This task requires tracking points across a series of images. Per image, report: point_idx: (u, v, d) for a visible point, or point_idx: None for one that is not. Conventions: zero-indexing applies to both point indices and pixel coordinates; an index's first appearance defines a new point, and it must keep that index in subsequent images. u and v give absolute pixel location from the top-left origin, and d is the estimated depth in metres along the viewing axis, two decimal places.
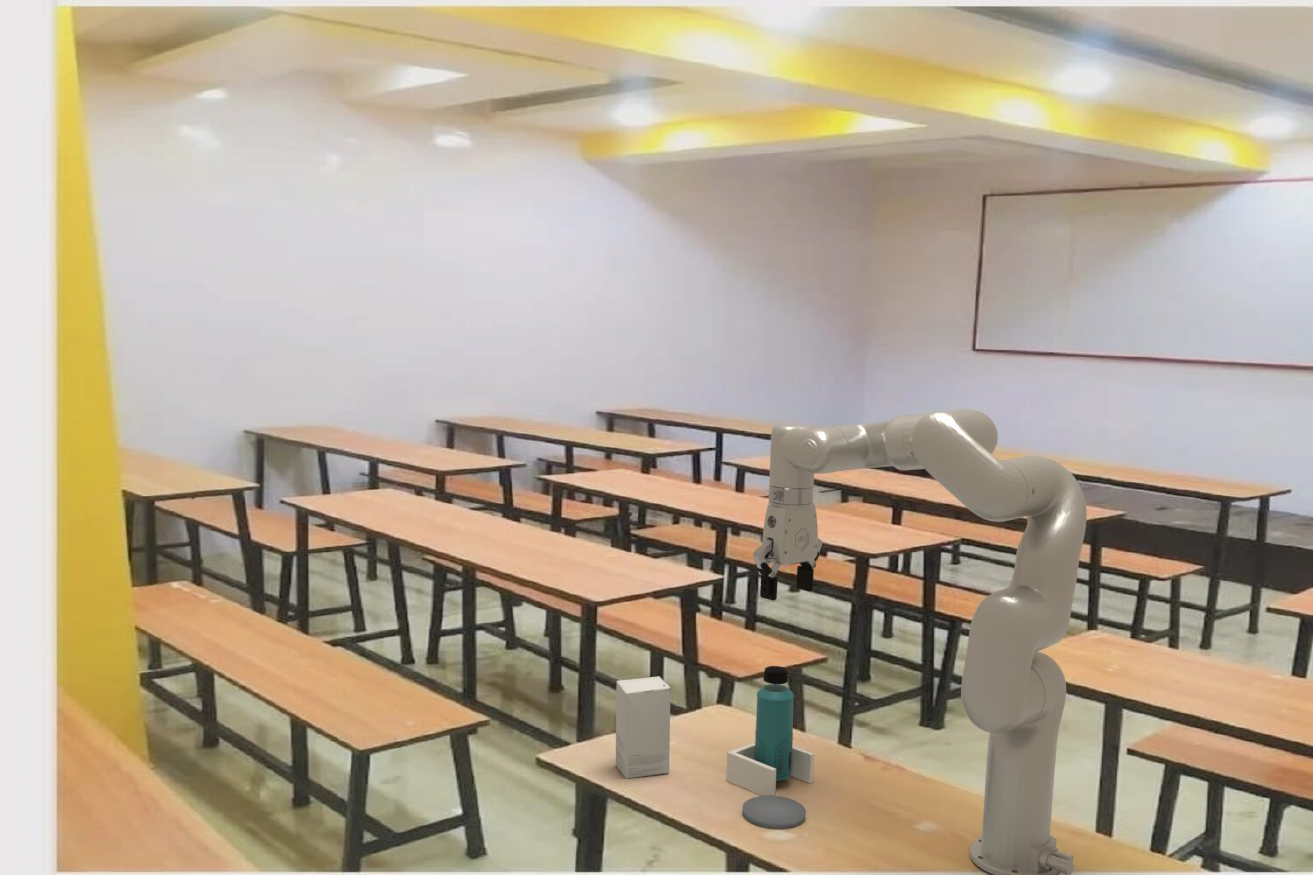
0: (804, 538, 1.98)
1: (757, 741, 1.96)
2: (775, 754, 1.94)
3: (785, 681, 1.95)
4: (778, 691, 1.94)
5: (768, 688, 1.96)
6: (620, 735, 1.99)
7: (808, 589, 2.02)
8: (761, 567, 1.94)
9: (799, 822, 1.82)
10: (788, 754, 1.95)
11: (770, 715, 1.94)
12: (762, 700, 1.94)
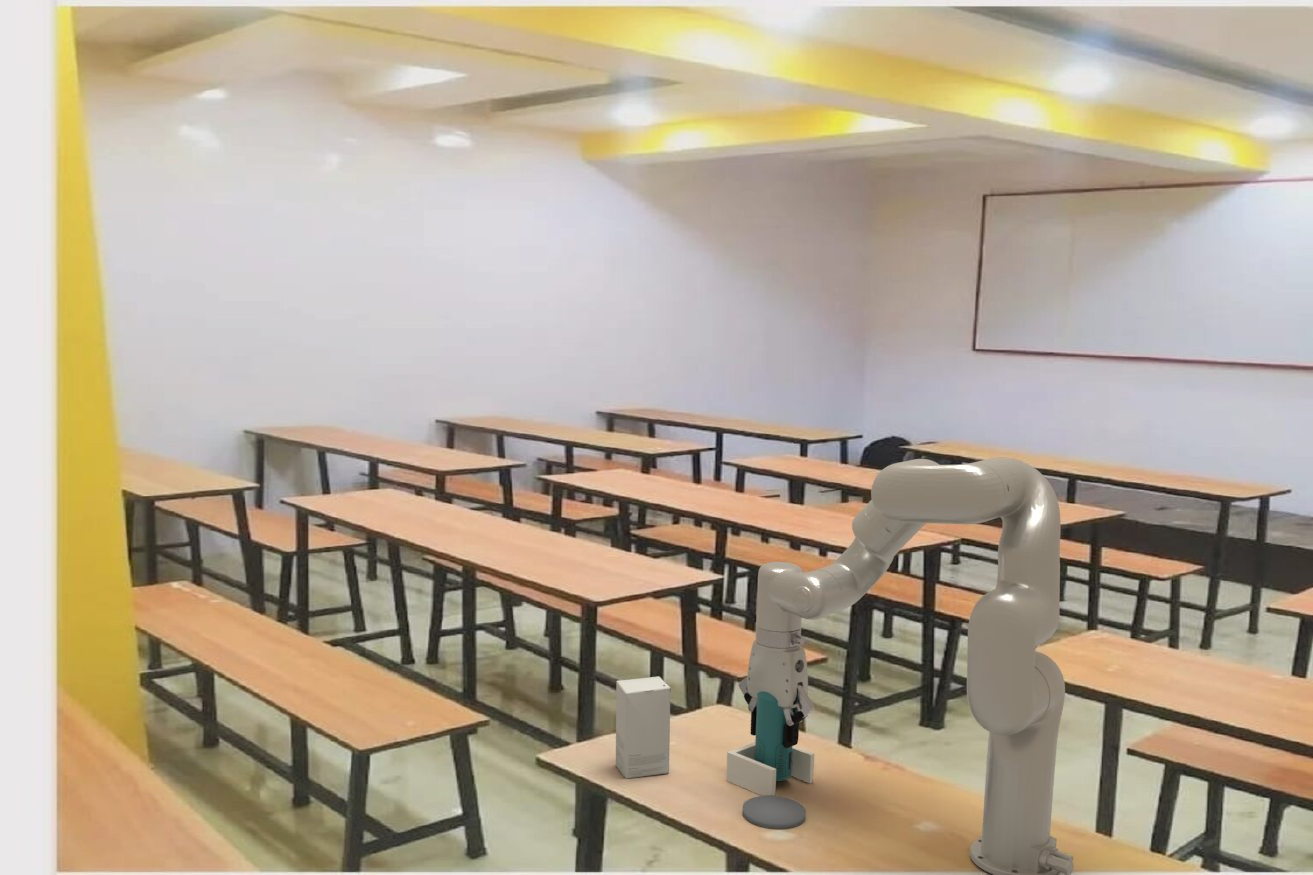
0: None
1: (757, 741, 1.96)
2: (775, 754, 1.94)
3: None
4: None
5: None
6: (620, 735, 1.99)
7: None
8: (806, 715, 1.92)
9: (799, 822, 1.82)
10: (788, 754, 1.95)
11: (770, 715, 1.94)
12: (762, 700, 1.94)
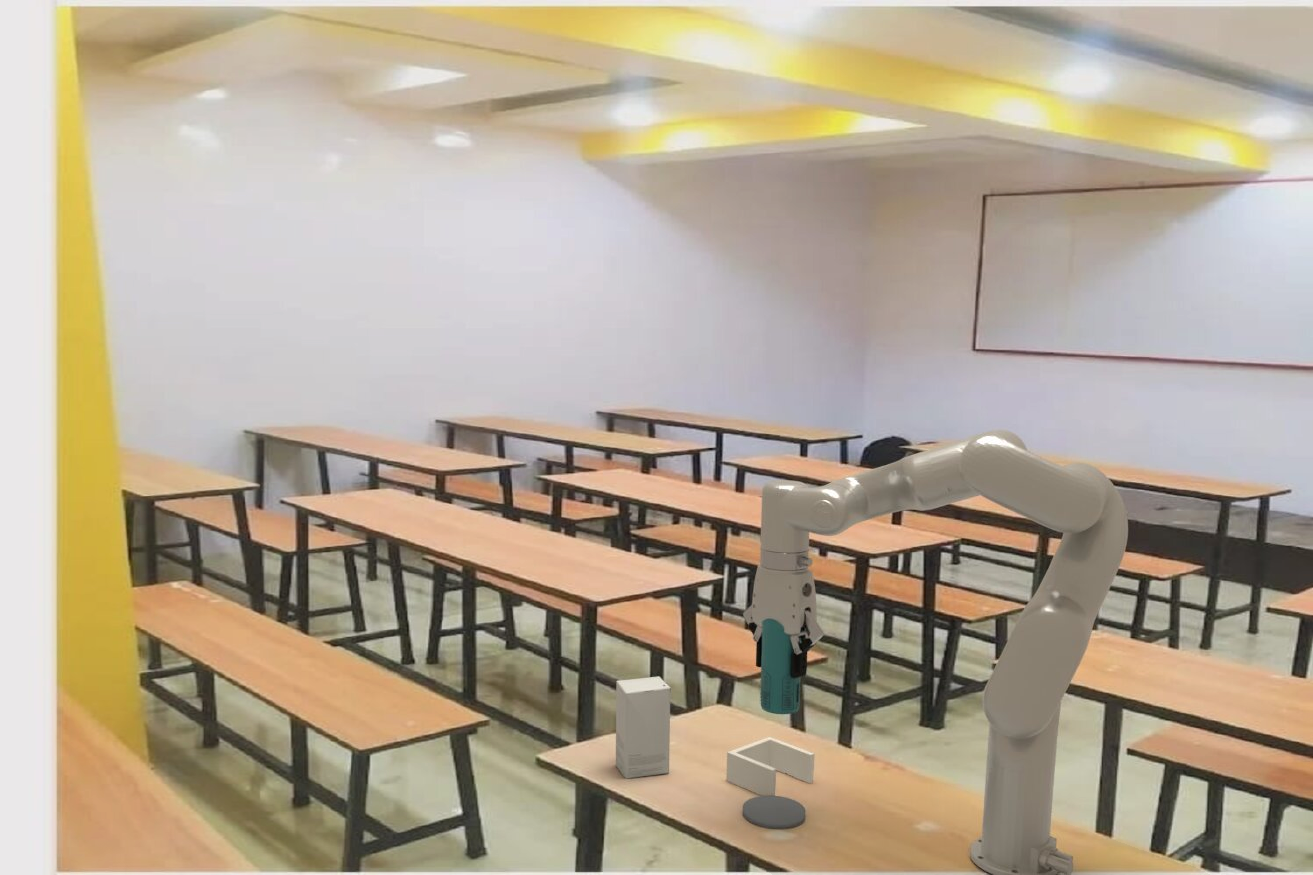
0: None
1: (763, 672, 1.83)
2: (782, 685, 1.82)
3: None
4: None
5: None
6: (620, 735, 1.99)
7: None
8: (815, 642, 1.79)
9: (799, 822, 1.82)
10: (796, 686, 1.82)
11: (776, 643, 1.81)
12: (768, 628, 1.82)
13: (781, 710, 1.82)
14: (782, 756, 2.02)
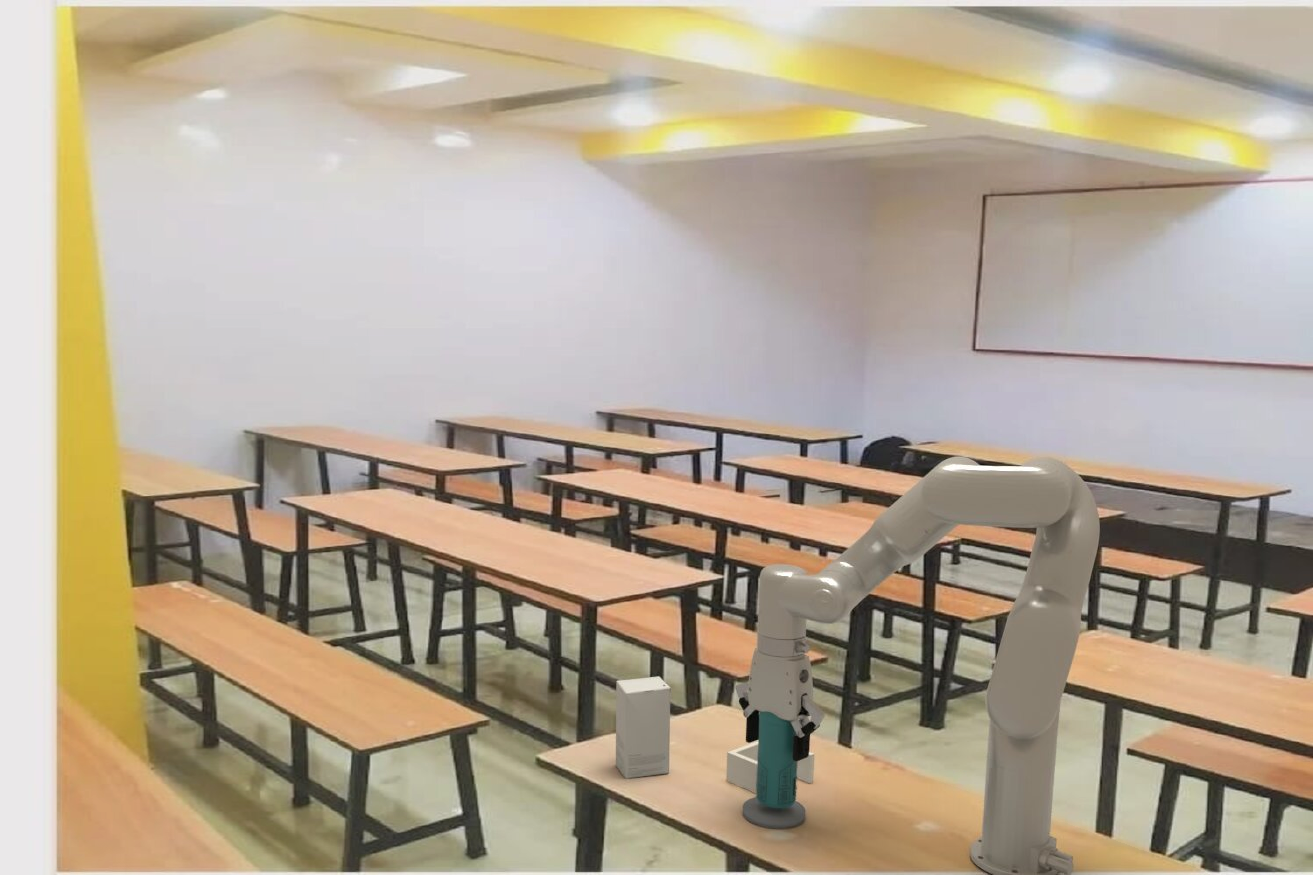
0: None
1: (759, 765, 1.83)
2: (779, 779, 1.81)
3: None
4: None
5: None
6: (620, 735, 1.99)
7: None
8: (818, 726, 1.78)
9: (799, 822, 1.82)
10: (792, 779, 1.82)
11: (773, 737, 1.81)
12: (765, 722, 1.81)
13: (777, 804, 1.82)
14: None
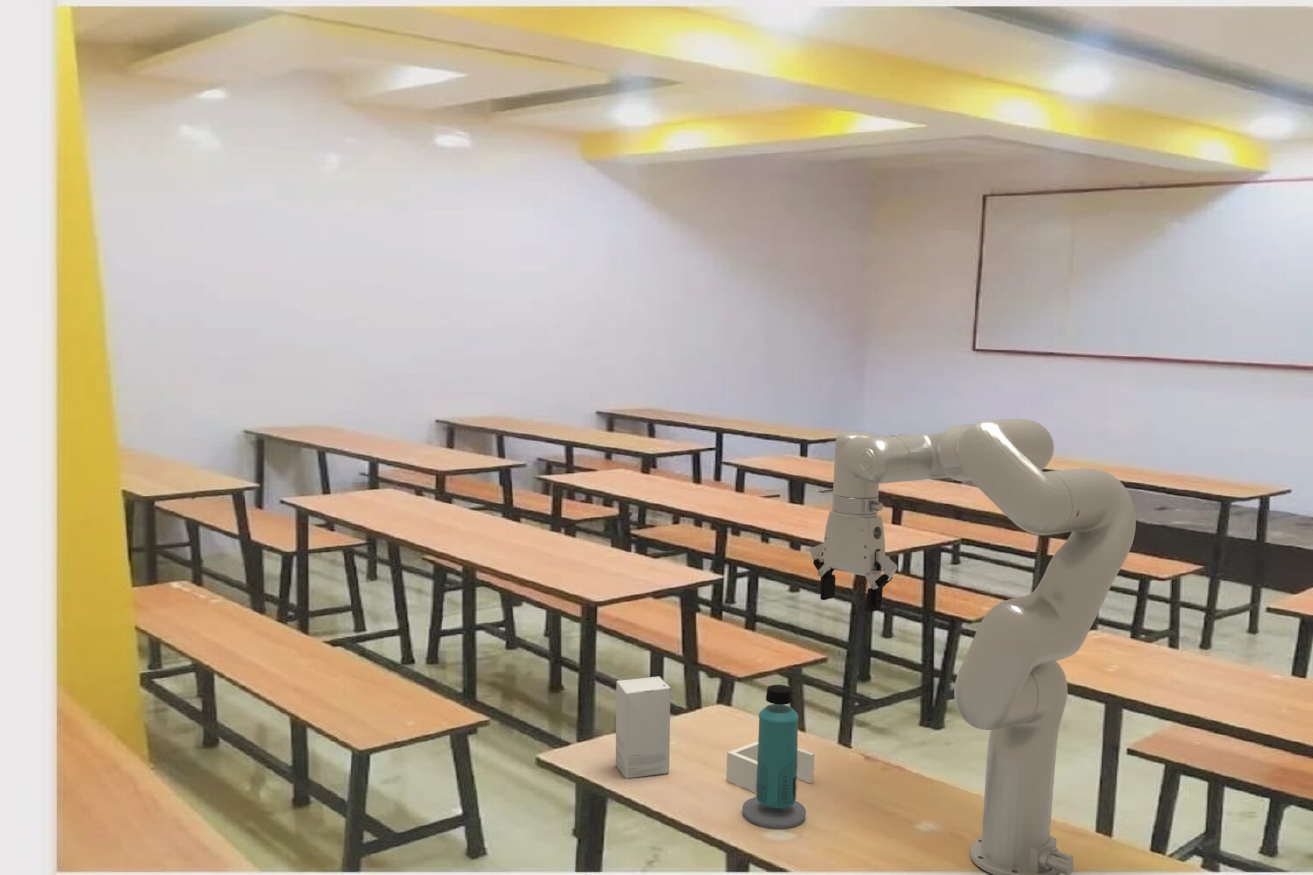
0: None
1: (759, 765, 1.83)
2: (779, 779, 1.81)
3: (789, 701, 1.82)
4: (782, 712, 1.82)
5: (771, 708, 1.83)
6: (620, 735, 1.99)
7: (833, 596, 2.02)
8: (890, 578, 1.92)
9: (799, 822, 1.82)
10: (792, 779, 1.82)
11: (773, 737, 1.81)
12: (765, 722, 1.81)
13: (777, 804, 1.82)
14: None
